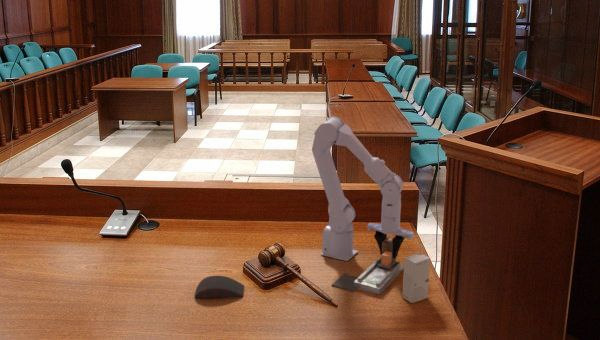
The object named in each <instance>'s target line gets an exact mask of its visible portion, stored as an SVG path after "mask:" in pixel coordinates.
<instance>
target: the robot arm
mask: <svg viewBox="0 0 600 340" xmlns="http://www.w3.org/2000/svg"><path fill="white" fill-rule="evenodd" d="M333 145H335V146H342V147H346V148H347V149H348V150H349V151H350V152H351V153H352V154H353V155H354V157H356V158H357V159H358V160H359V161H360V162H361V163H362V164H363V166H364V167H363V168H364V172H365V173H366V174H367V175H368V176H369V178H371V180H373V182H374V183H375V184H376V185H377V186H378V187H380V195H382V200H381V214H380V215H381V217H380V218H381V219H380V223H374V222H373V223H372V222H369V223H368V224H367V227H366V228H367V229H366V230H367V231H368V232H371V231H372V232H375V234H373V237H374V239H375V242H376V243H377V245H378V249H379V253H380V254H379V255H380V256H381V255H382V241H383V240H384V239H386V238H388V236H389V235H390V236H393V238H391V239H392V242H393V258H394V259H395V258H396V259H397V257H398V254H399V251H400V248H401V246H402V244H403V242H404V240H405V239H407V240H408V241H412V240H414V233H415V231H410V230H408V229H405V228H403V227H401V210H402V200H401V199H402V193H401V192H402V190H403V188H404V181H403V179H402V177H401V176H400V175H397V174H396V173H395V172H392V171H391V169H390V168H388V167H387V165H386V164H385V163H386V161H385V160H384V159H380V158H379V157H378V156H377V157H376V156H372V154H371V153H370V152H369V151H368V149H366V147H365V146H364V145H363V143H362V142H361V141H360V139H359V138H357V136H356V135H355V133H354V132H353V131H352V129H351V128H350V126H349V125H347V123H345V122H344V120H343V119H341V118H340V117H338V116H332V117H329V118H328V119H327V120H326V121H325V122H323V123H321V124H320V125H319V126H318V127H317V129H316V130H315V131H314V138H313V142H312V147H311V152H312V155H313V159H314V160H315V161H314V162H315V164H316V168H317V170H318V174H319V176H320V180H321V183H322V186H323V190H324V192H325V195H326V199H327V201H328V208H327V209H328V210H327V213H328V216H329V218H328V225H326V226H325V227H324V229H323V231H322V237H321V238H322V240H321V243H322V244H321V250H322V251H321V252H320V255H322V256H325V257H328V258H331V259H332V258H333V259H335V260H340V261H344V262H349V260H351V259H352V258H353V257H354V256H355V255H356V254H357V253H358V250H356V249H354V225H353V221H354V220H355V217H356V210H355V209H354V207H353V206H352V205H351V203H350V200H349V199H347V198H346V197H345V193H344V191H343V189H342V188H343V187H342V185H341V182H340V179H339V174H338V173H337V169H336V165H335V163H334V162H335V161H334V159H333V155H332V154H331V149H332V147H333Z"/></svg>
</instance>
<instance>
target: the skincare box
mask: <svg viewBox="0 0 600 340" xmlns="http://www.w3.org/2000/svg"><path fill="white" fill-rule="evenodd" d="M403 260H404V262H403V264H404V265H403V279H402V298H403V299H404V300H406V301H408V302H409V303H411V304H414V303H417V302H420V301H423V300H426V299H427V298H428V297H429V283H430V270H431V269H430V268H431V267H430V266H431V257H429V256H427V255H425V254H423V253H421V252H420V253H416V254H411V255H409V256H406V257H404V259H403Z"/></svg>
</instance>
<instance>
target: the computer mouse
mask: <svg viewBox="0 0 600 340" xmlns="http://www.w3.org/2000/svg"><path fill="white" fill-rule="evenodd" d="M244 292H245V285H244V284H243V283H241V282H239V281H238V280H236V279H233V278H231V277H228V276H224V275H211V276H207V277H204V278H203V279H201V280H200V282H199V283H198V285H197V286H196V289H195V292H194V299H201V300H214V299H216V300H217V299H218V300H219V299H221V300H222V299H239V298H240V299H241V298H244Z"/></svg>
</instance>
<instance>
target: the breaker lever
mask: <svg viewBox="0 0 600 340" xmlns="http://www.w3.org/2000/svg"><path fill="white" fill-rule="evenodd" d="M380 256H381V255H380ZM391 257H392V253H391V252H387V251H385V252H384V253H383V254H382V256H381V262H379V263H378V264H377V266H379V267H383V268H387V269H390V268H391V267H392V266H393V265H394V264H395V262H396V261H395V262H391Z"/></svg>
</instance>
